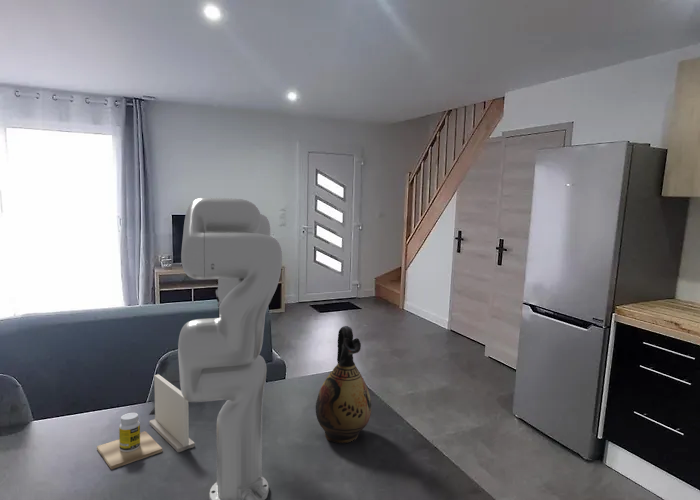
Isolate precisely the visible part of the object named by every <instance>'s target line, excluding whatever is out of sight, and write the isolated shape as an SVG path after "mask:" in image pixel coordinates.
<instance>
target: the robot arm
mask: <svg viewBox="0 0 700 500" xmlns="http://www.w3.org/2000/svg"><path fill="white" fill-rule="evenodd" d="M270 225H271V224H270V222H269V219H268V217H267V216H266V215H264V214H261V212H260V210H259V208H258V207H257V206H256V205H255V204H254V203H253V202H251V201H249V200H247V199H243V198H225V197H224V198H221V197H219V198H217V197H216V198H213V197H199V198H196V199H194V200H193V201H192V202H191V203H190V204H189V206H188V207H187V210H186V213H185V216H184V224H183V232H182V233H183V234H182V241H181V242H182V243H181V252H180V253H181V254H180V258H181V259H180V261H181V267H182V269H183V272H184V273H185V275H186V276H187V277H189V278H191V279H194V280H217V281H218V282H217V289H215V295H216V301H217V307H218V308H217V309H218V310H217V311H218V315H217V317H214V318H212V317H211V318H210V317H209V318H197V319H192V320H191V319H190V321H187V322H186V323H184V324H183V326H182V327H181V330H180V332H179V336H178V342H177V346H178V348H177V352H178V353H177V357H178V358H177V359H178V370H179V371H178V372H179V385H180V391H181V392H182V395H183V397H184V398H185V399H186V400H187V401H188V403H205V402H214V401H225V403H224V404H223V405H222V406H221V409H220V410H219V412H218V414H217V417H216V481H215V483H213V484H212V486H211V487H210V489H209V491H208V492H209V493H208V495H209V496H208V497H209V500H266V499H267V498H268V495H269V492H270V491H269V490H270V488H269V487H270V485H269V482H268V481H267V479H266V478H265V477H264V476H263V475H262V474H263V472H262V469H263V468H262V465H263V459H262V457H263V456H262V454H263V452H262V451H263V450H262V449H263V447H262V446H263V444H262V443H263V442H262V441H263V435H262V433H263V401H264V400H263V399H264V394H265V393H264V392H265V387H266V386H265V385H266V380H267V364H266V361H265V359H264V357H263V356H262V355H260V354H261V352H262V348H263V342H264V334H265V332H264V331H265V323H266V321H265V320H266V314H267V313H266V312H267V310H268V307H269V305H270V304H271V302H272V299H273V296H274V294H275V292H276V290H277V288H278V285H279V282H280V278H281V271H282V265H283V264H282V263H283V253H282V247H281V245H280V243H279V241H278V240H277V239H276V238H275V237H272V235H271V226H270Z"/></svg>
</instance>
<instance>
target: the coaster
mask: <svg viewBox="0 0 700 500" xmlns="http://www.w3.org/2000/svg"><path fill="white" fill-rule="evenodd" d="M96 451H98V453H99V454H100V456H101V457H102V459H103V460H104V462H105V463H106V464H107V466H108V467H109V469H110V470H115V469H117V468H120V467H122V466H125V465H128V464H131V463H133V462H136V461H140V460H143V459H145V458H149V457H151V456H154V455H157V454H160V453H162V452H163V447H162V446H161V445H160V444H159V443H157V441H156V440H155V439H154V438H153V437H152V436H151V435H150V434H149V433H148V432H147V431H146V430H145V431H144V430H143V431H140V447H139V448H138V449H136V450H134V451H131V452H122V451H121V450H120V441H119V438H118V439H115V440H112V441H109V442H107V443H103V444H99V445H96Z"/></svg>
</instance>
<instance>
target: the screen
mask: <svg viewBox="0 0 700 500" xmlns="http://www.w3.org/2000/svg"><path fill="white" fill-rule="evenodd" d="M153 377H154V383H153V385H154V407H155V415H154V419H153V418H152V419H151V420H149V423H148V424H149V426H151V428H153V429H154V430H155V431H156V433H158V434H159V435H160V436H161V438H163V439H164V440H165V442H167V443H168V444H169V445H170V446H171V447H172V449H174V450H175V451H176V452H177V453H181V452H185V451H186V450H189V449H192V448H195V446H196V443H195V442H194V441H193V440H192V439H191V438H190V437H189V435H190V433H189V431H190V429H189V427H190V425H189V421H190V420H189V417H190V416H189V415H190V414H189V401H187V400H186V399H185V398H184V397H183V395H182V392H181V389H179V388H178V387H177V386H175V385H173V384H172V383H171V382H170V381H168V380H167V379H166V378H164V377H163V376H161V375H160V374H158V373H157V374H155V375H153Z"/></svg>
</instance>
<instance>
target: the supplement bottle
mask: <svg viewBox="0 0 700 500" xmlns="http://www.w3.org/2000/svg"><path fill="white" fill-rule="evenodd" d="M140 423H141V422H140V421H139V414H138V413H137V412H128V413H124V414H123V415H121V416H120V424H119V426H118V428H119V429H118V431H119V432H118V433H119V438H118V439H119V441H120V450H121V451H122V452H131V451H134V450H136V449H138V448H139V447H140V433H141V424H140Z"/></svg>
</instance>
